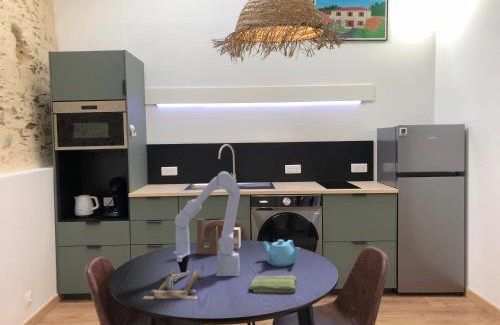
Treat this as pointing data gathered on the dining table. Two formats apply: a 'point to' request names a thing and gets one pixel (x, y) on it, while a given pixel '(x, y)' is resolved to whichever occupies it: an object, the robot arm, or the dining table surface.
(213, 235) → the brown wooden frame
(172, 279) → the caliper
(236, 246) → the small box
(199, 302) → the dining table surface
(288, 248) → the teapot
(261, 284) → the washcloth
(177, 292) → the rails
